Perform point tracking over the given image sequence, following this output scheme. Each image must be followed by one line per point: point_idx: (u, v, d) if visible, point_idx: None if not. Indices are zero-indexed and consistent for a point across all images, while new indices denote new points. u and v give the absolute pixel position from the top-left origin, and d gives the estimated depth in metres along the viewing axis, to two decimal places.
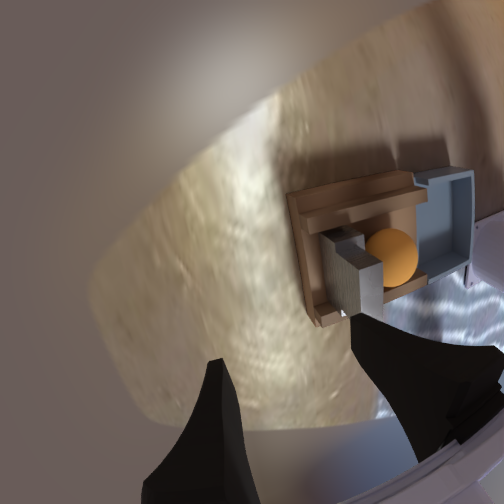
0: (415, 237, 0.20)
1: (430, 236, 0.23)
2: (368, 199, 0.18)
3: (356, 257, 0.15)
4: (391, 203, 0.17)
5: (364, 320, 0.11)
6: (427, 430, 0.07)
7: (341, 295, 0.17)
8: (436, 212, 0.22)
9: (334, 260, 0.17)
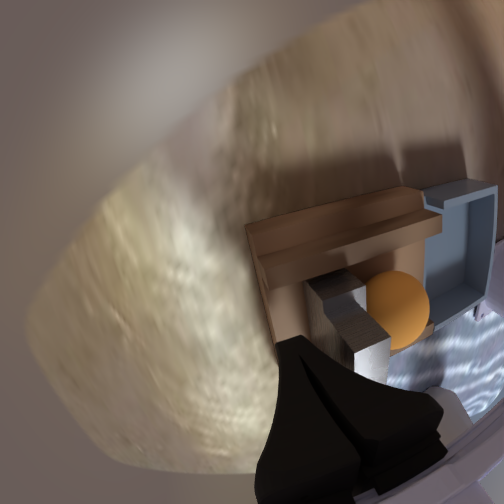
0: (422, 275, 0.15)
1: (439, 268, 0.18)
2: (360, 233, 0.13)
3: (352, 325, 0.10)
4: (393, 239, 0.12)
5: (299, 344, 0.11)
6: None
7: None
8: (448, 238, 0.17)
9: (322, 321, 0.12)
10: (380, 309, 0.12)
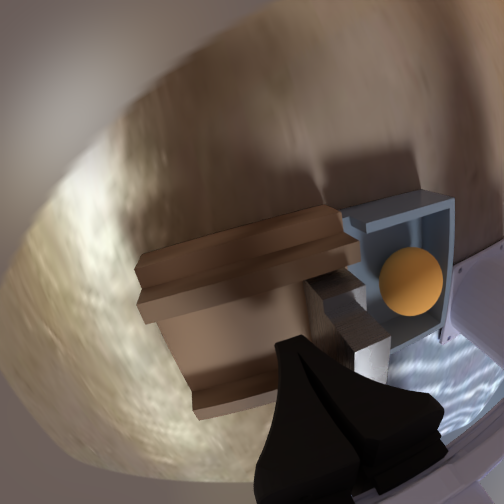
0: None
1: None
2: (245, 267, 0.12)
3: (353, 324, 0.10)
4: (284, 273, 0.12)
5: (299, 344, 0.11)
6: None
7: None
8: None
9: (322, 320, 0.12)
10: None
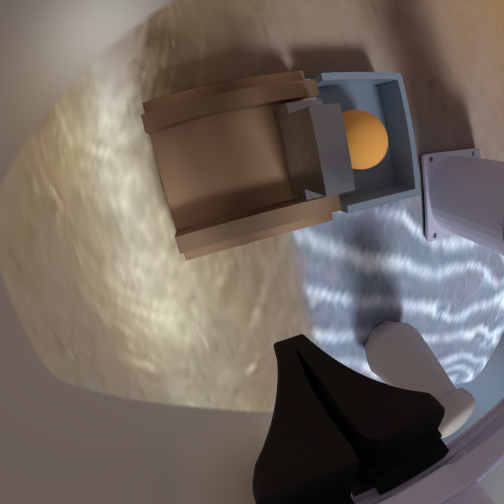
0: None
1: None
2: None
3: None
4: (257, 93, 0.14)
5: (300, 344, 0.11)
6: None
7: (301, 167, 0.14)
8: None
9: (289, 125, 0.14)
10: None
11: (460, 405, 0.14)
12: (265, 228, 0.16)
